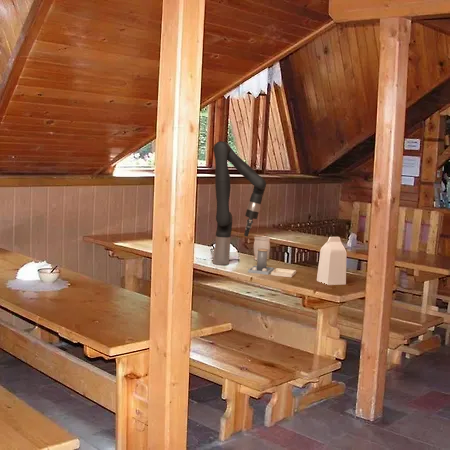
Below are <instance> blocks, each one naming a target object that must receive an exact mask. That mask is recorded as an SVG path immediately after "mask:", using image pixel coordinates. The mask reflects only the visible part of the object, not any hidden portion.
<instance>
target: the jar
mask: <svg viewBox="0 0 450 450" xmlns="http://www.w3.org/2000/svg"><path fill="white" fill-rule="evenodd" d="M253 238H254V242H253V255H254V259H253V260H255V261H257V257H258V249H268V251H267V257H268V256H269V254H270V250H271V249H270V248H271V242H270V240H271V237H270V236H269V237H268V236H262V235H261V236H260V235H257V236H253Z"/></svg>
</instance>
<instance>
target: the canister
mask: <svg viewBox="0 0 450 450" xmlns="http://www.w3.org/2000/svg"><path fill="white" fill-rule="evenodd" d="M267 251H268V249H258V257H257V260H256V262H257V263H256V266H257V271H262V269H263V268H266V267H267V261H268V256H267Z"/></svg>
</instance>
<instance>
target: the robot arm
mask: <svg viewBox="0 0 450 450" xmlns="http://www.w3.org/2000/svg"><path fill="white" fill-rule="evenodd" d="M213 154H214V161H215V162H214V163H215V167H214V168H215V173H214V175H215V176H214V179H215V181H214V184H215V185H214V186H215V187H214V188H215V197H216V212H215V213H216V215H215V221H216V232H215V244H214V248H213V261H212V264H213V265H218V266H229V265H230V256H231V255H230V254H231V253H230V251H231V236H232V235H231V234H232V229H233V215H232V214H233V213H232V212H230V206H229V205H230V198H231V197H230V196H231V187H232V186H231V176H230V175H231V174H230V172H229V171H230V170H229V167H228V166H229V165H228V162H229V163H230V164H231V165H232V166H233V168H235V170H237V172H239V174H240V175H242V176H243V178H245V179H246V180H247V181H248V182H249V183H251V184H252V185H253V190H252V193H251V195H250V198H249V202H248V203H247V204H248V205H247V207H246V211H245V214H244V215H245V217H246V218H248V219H246V223H245V228H244V229H245V230H244V235H243V236H244V237H248V236H249V234H250V230H251V229H252V226H253V224H254V220H258V216H259V214H260V213H259V212H260V209H261V204H262V201H263V196H264V193H265V190H266V187H267V182H266V179H264V178H263V177H262V176H261V175H260V174H258V173H257V172H256V171H255V170H254V169H253V168H252V167H251V166H250V165H249V164H248V163H247V162H245V161H244V160H243V159H242V158H241V157H240V156H239V155H238V154H237V153H236V152H235V151H234V150H233V148H232V147H231V146H230V144H229V143H228V142H226V141H223V140H222V141H221V140H220V141H218V142H215V144H214V146H213Z"/></svg>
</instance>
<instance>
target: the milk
mask: <svg viewBox="0 0 450 450" xmlns="http://www.w3.org/2000/svg"><path fill="white" fill-rule="evenodd" d="M347 255H348V254H347V250H346V248H345V246H344V245H343V242H342V240H341V237H340V236H329V238H328V240H327V241H326V242H325V243H324V244H323V245H322V246H321V248H320V250H319V257H318V260H319V261H318V267H317V275H316V281H317V282H319V283H321V282H322V283H321V284H324V283H325V284H324V285H326V284H327V285H326V286H334V285H335V286H336V285H337V286H339V285H347Z"/></svg>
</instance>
